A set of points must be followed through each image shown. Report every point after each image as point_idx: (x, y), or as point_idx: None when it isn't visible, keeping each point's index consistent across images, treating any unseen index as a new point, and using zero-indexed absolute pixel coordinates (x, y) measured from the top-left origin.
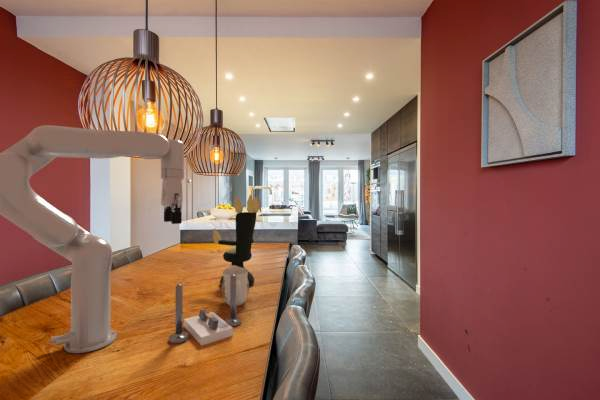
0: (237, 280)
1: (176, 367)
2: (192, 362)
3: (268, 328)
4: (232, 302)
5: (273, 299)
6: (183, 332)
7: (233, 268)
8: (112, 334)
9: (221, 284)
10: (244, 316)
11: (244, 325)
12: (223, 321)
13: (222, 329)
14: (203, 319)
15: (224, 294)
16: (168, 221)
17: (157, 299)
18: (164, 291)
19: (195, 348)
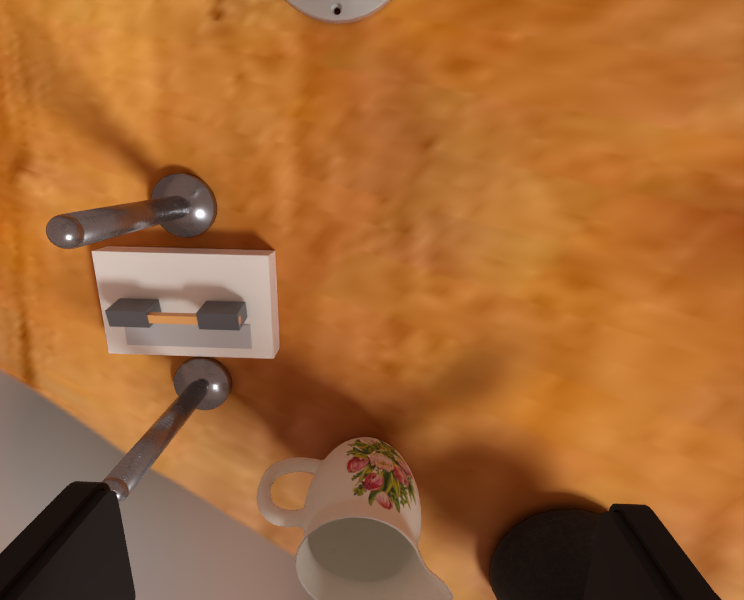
0: (306, 526)
1: (21, 146)
2: (27, 191)
3: (115, 440)
4: (161, 415)
5: None
6: (202, 227)
7: (433, 586)
8: (324, 4)
9: (575, 510)
10: (236, 431)
11: (172, 400)
12: (170, 351)
13: None
14: (206, 303)
15: (354, 449)
16: (598, 558)
17: (629, 251)
18: (716, 305)
19: None
